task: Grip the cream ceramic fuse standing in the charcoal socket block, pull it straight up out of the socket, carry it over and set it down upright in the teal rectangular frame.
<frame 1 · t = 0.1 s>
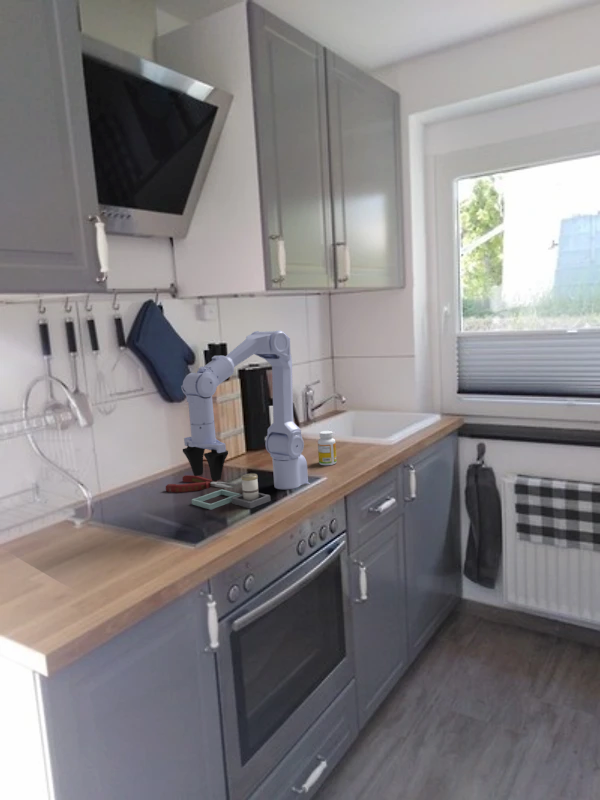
hand: (207, 477, 141), 10 cm above the countertop, tool pointing down, fingers open, 7 cm apart
socket block: (251, 505, 149), on the countertop
fuse: (251, 502, 149), point 1 cm above the countertop, touching socket block
supplement bottle: (327, 464, 186), on the countertop
pliers: (199, 491, 167), on the countertop
teal rectangular frame: (216, 504, 152), on the countertop
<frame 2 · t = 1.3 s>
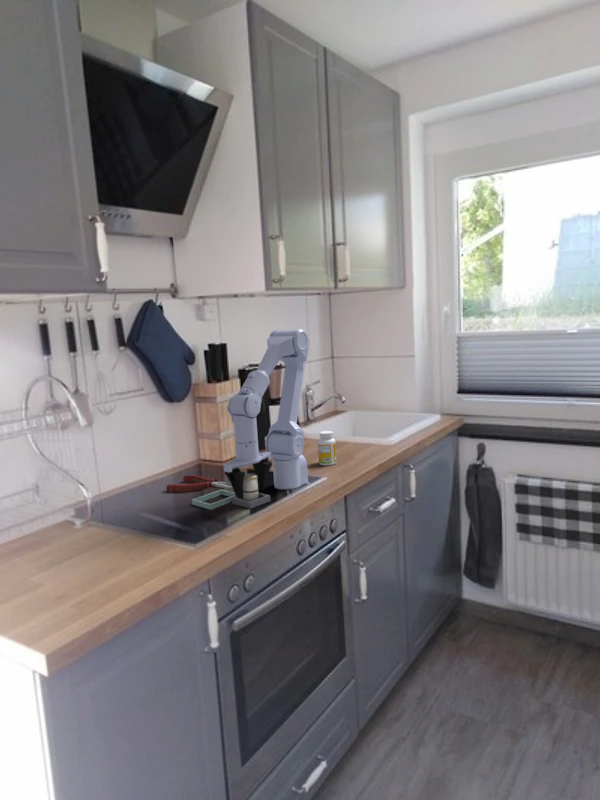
hand: (250, 492, 149), 3 cm above the countertop, tool pointing down, fingers open, 7 cm apart
nothing on the countertop moved.
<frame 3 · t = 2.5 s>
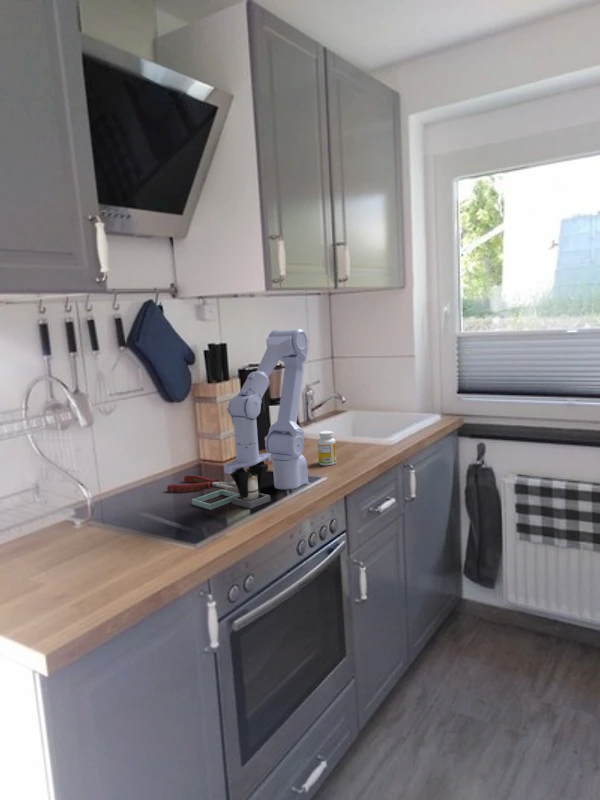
hand: (250, 494, 149), 3 cm above the countertop, tool pointing down, fingers closed on fuse, 4 cm apart
fuse: (251, 502, 149), point 1 cm above the countertop, touching gripper, socket block
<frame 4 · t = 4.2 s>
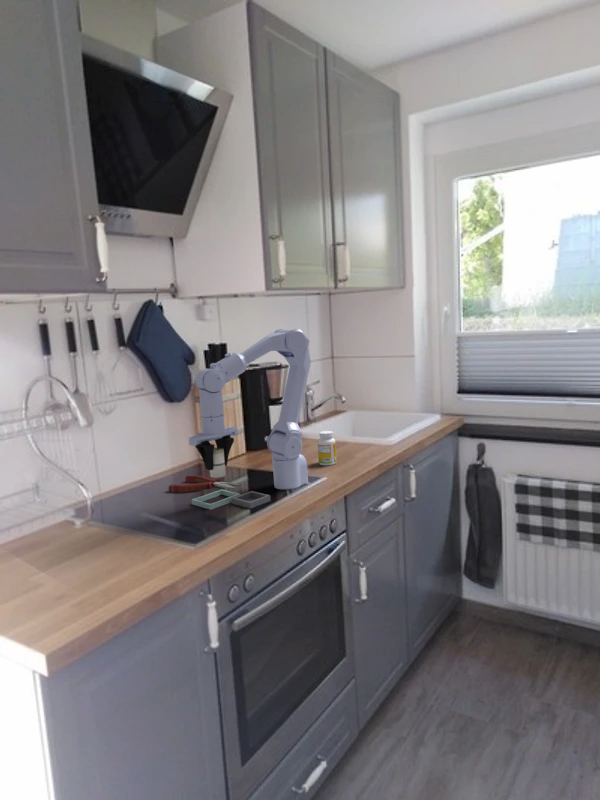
hand: (216, 467, 150), 10 cm above the countertop, tool pointing down, fingers closed on fuse, 4 cm apart
fuse: (217, 475, 150), point 8 cm above the countertop, touching gripper
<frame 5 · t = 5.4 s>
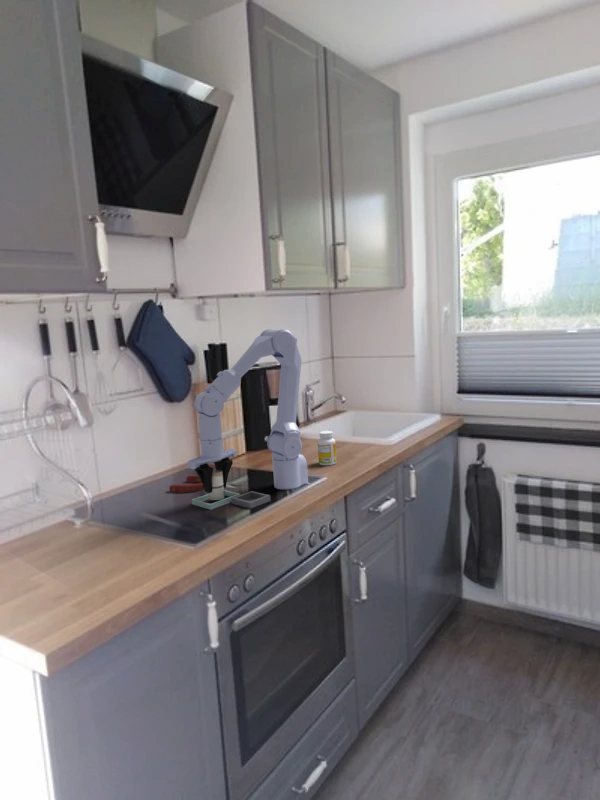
hand: (215, 489, 151), 4 cm above the countertop, tool pointing down, fingers closed on fuse, 4 cm apart
fuse: (216, 497, 152), point 2 cm above the countertop, touching gripper
when the fingers open (4 cm above the countertop, at t = 6.3 s): fuse stays where it is, resting on teal rectangular frame.
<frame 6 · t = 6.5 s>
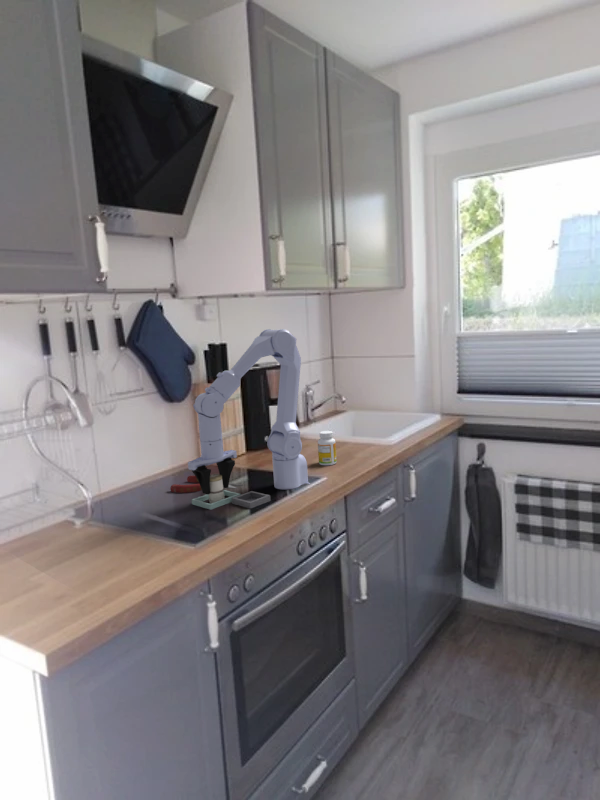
hand: (215, 490, 151), 4 cm above the countertop, tool pointing down, fingers open, 6 cm apart
fuse: (217, 502, 152), point 1 cm above the countertop, touching teal rectangular frame
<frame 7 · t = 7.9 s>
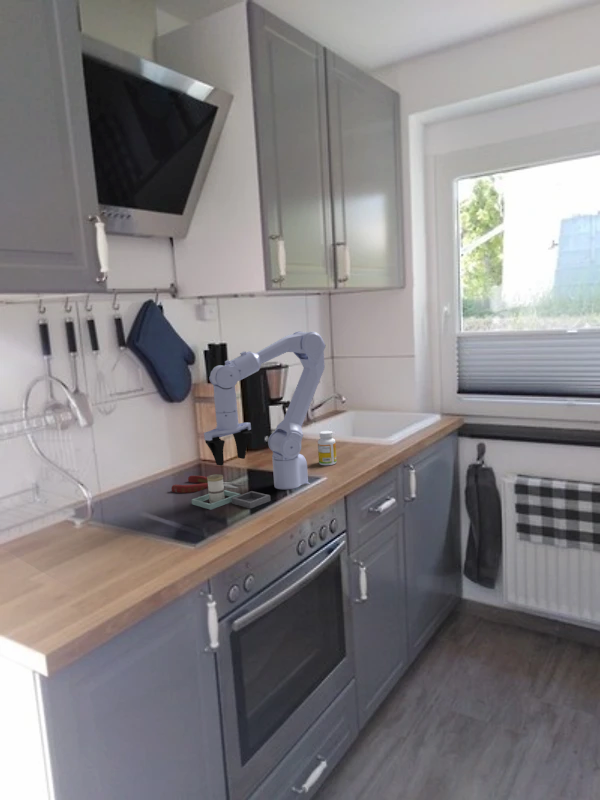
hand: (231, 461, 154), 10 cm above the countertop, tool pointing down, fingers open, 7 cm apart
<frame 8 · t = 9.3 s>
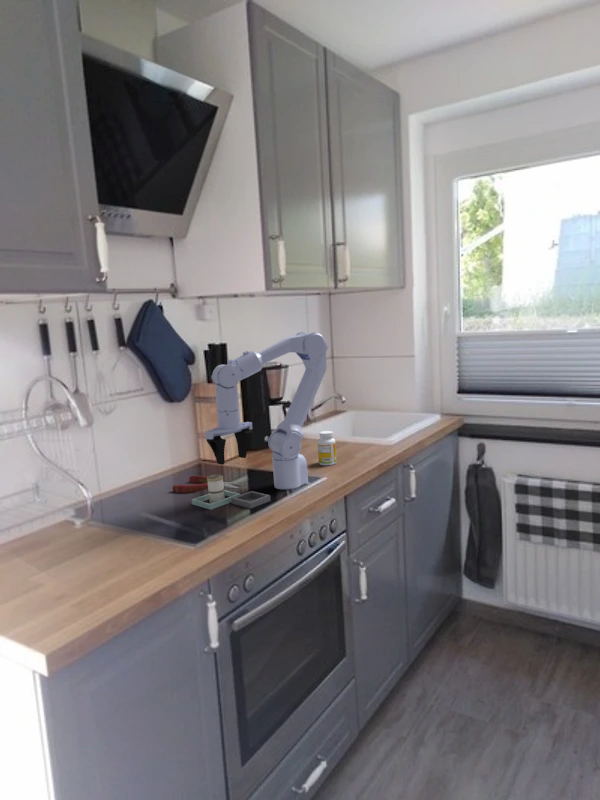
hand: (231, 460, 154), 10 cm above the countertop, tool pointing down, fingers open, 7 cm apart
at the end: fuse 0.2 cm off-centre on the teal rectangular frame, point 0.5 cm above the teal rectangular frame's base; fuse tilted 1°; the gripper is holding nothing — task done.
